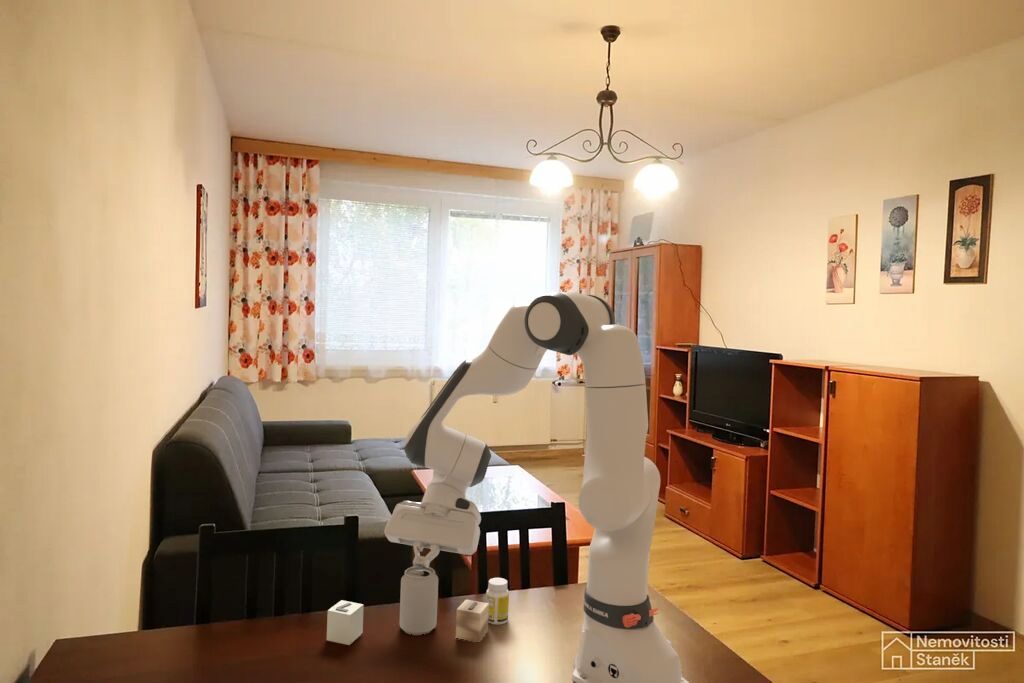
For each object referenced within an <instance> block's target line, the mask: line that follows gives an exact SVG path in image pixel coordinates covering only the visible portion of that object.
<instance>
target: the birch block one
mask: <svg viewBox="0 0 1024 683" xmlns="http://www.w3.org/2000/svg"><path fill="white" fill-rule="evenodd" d="M488 613H489V603H486V602H482V601H477V600H472V599H467V598H466V599H465V600H464V601H463V602H462V603H461V604H460V605H459V606H458V607H457V608H456V620H455V623H456V624H455V639H456V638H459V639H458V640H460V639H464V640H463V641H465V639H466V640H469V641H468V642H470V641H474V642H473V643H475V642H480V641H481V642H482V640H483V639H484V638H485V636H486V635H487V634H488V632H489V623H488ZM486 633H487V634H486ZM485 634H486V635H485ZM483 637H484V638H483ZM481 642H480V643H481Z"/></svg>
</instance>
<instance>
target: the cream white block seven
mask: <svg viewBox="0 0 1024 683" xmlns="http://www.w3.org/2000/svg"><path fill="white" fill-rule="evenodd" d="M364 606H365V605H364V604H362V603H357V602H353V601H347V600H344V599H343V600H342V599H341V600H340V601H338V602H337V603H336V604H333V606H331V607H330V608H329V609H328V610H327V618H326V619H327V620H326V621H327V622H326V641H329V642H333V643H336V644H337V643H338V644H342V645H348V646H350V645H351V644H353V642H355V640H357V639H358V638H359V637H361V636H362V635H363V634H362V633H363V632H364V631H363V630H364V627H363V626H364ZM361 634H362V635H361Z"/></svg>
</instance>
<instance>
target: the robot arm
mask: <svg viewBox="0 0 1024 683" xmlns="http://www.w3.org/2000/svg"><path fill="white" fill-rule="evenodd" d="M615 318H616V317H615V314H614V311H613V309H612V307H611V305H610V304H608V302H606V300H604V299H603V298H601V297H600V296H597V295H592V294H583V293H580V292H577V291H576V292H575V291H562V292H558V291H551V292H547V293H544V294H541V295H540V296H538V297H536V298H534V300H533V301H531V302H518V303H515V304H514V305H513V306H511V308H510V309H509V310H508V311H507V312H506V314H505V315H504V317H503V318H502V320H501V321H500V323H499V324H498V326H496V329H495V331H494V332H493V333H492V336H491V338H490V340H489V343H488V345H487V346H486V347H485V349H484V350H483V352H481V353H480V354H479V355H478V356H476V357H475V358H471V359H465V360H464V361H462V362H461V363H460V364H459V366H457V368H456V369H455V370H454V371H453V373H452V374H451V376H450V377H449V378H448V379H447V380H446V382H445V384H444V385H443V386H442V388H441V389H440V391H439V392H438V393H437V395H436V396H435V398H434V399H433V401H432V402H431V403H430V405H429V406H428V408H427V409H426V410H425V412H424V413H423V414H422V415H421V417H420V419H419V420H417V421H416V422H415V424H413V426H412V427H411V428H410V429H409V431H408V433H407V435H406V437H405V441H404V445H403V450H404V453H405V455H406V457H407V460H409V462H410V463H411V464H412V465H416V466H419V467H422V468H428V469H430V470H433V472H432V479H431V481H430V482H429V483H428V484H427V487H426V489H425V492H424V494H423V497H422V499H421V501H420V502H417V501H410V500H403V501H401V502H399V503H397V504H396V505H395V507H394V509H393V511H392V514H391V516H390V517H389V519H388V521H387V523H386V525H385V527H384V535H385V537H386V538H387V540H388V541H389V542H390V543H396V544H403V545H407V546H412V547H413V551H414V552H413V553H414V558H413V561H412V564H413V567H414V566H416V567H423V568H428V567H430V564H431V562H432V561H433V560H434V559H435V558H436V557H438V555H439V554H440V551H443V552H449V553H454V554H455V553H456V554H460V555H461V554H462V555H466V556H472V555H473V554H474V553H475V552H476V551H477V549H478V545H479V540H480V536H481V530H480V526H479V525H480V524H481V521H482V516H481V513H480V511H479V509H478V506H476V503H475V502H473V501H471V500H469V499H468V498H466V496H467V494H466V493H467V490H468V489H469V488H473V487H475V486H476V485H479V484H481V483H482V482H483V481H484V479H485V477H486V474H487V471H488V468H489V463H490V461H491V458H492V453H491V451H490V447H489V446H488V444H487V443H486V442H485V441H483V440H482V439H478V438H476V437H474V436H472V435H470V434H466V433H463V432H461V431H459V430H456V429H454V428H452V427H449V426H447V425H446V424H444V423H443V421H445V419H446V417H447V416H448V415H449V413H450V412H451V411H452V409H453V408H454V407H455V405H456V403H457V402H458V401H459V400H461V399H462V398H464V397H467V396H474V395H475V396H477V395H480V396H481V395H485V396H494V397H495V396H497V397H500V396H501V397H502V396H510V395H513V394H516V393H518V392H520V391H522V390H524V389H525V388H526V387H527V386H528V385H529V383H530V382H531V380H532V378H533V377H534V375H535V374H536V372H537V370H538V368H539V366H540V363H541V362H542V359H543V358H544V355H545V353H546V352H547V351H553V352H557V353H560V354H563V355H565V356H566V355H567V356H573V355H575V354H576V355H577V356H578V357H579V358H580V360H581V362H582V365H583V370H584V371H583V372H584V388H585V389H584V390H585V406H586V408H585V409H586V423H587V425H586V426H587V428H586V429H587V430H586V433H587V434H586V445H585V451H584V462H583V464H584V465H583V475H582V481H581V482H582V483H581V487H580V490H579V493H578V509H579V511H580V514H581V516H582V518H584V520H585V521H586V522H587V523H588V525H590V526H591V527H592V528H594V530H593V535H592V538H591V541H590V545H589V547H588V559H587V560H588V562H587V583H586V588H584V592H583V593H584V594H583V611H584V618H583V619H584V620H583V623H582V628H581V632H580V639H579V645H578V650H577V653H576V656H575V658H574V659H575V660H574V661H573V662H574V664H573V665H574V669H573V672H572V679H571V680H572V681H573V682H574V683H690V682H689V681H688V680H687V679H685V677H683V675H682V667H681V660H680V657H679V654H678V653H677V651H676V650H675V649H674V646H673V643H672V642H671V641H670V640H668V639H667V638H666V637H665V635H664V633H663V632H662V631H661V629H660V628H659V626H658V625H657V624H656V623H655V621H654V619H655V617H654V616H656V615H658V614H659V612H657V611H658V610H659V607H655V608H652V604H651V599H650V596H649V594H648V587H649V586H648V585H649V584H648V582H649V567H650V555H651V549H652V548H651V546H652V542H653V535H654V530H655V523H656V519H657V518H656V515H657V510H658V501H659V495H660V494H659V493H660V488H661V474H660V471H659V469H658V467H657V465H656V464H655V463H654V462H653V461H652V460H651V459H650V458H648V457H646V456H645V453H646V442H647V435H648V430H649V414H648V400H647V387H646V386H647V385H646V372H645V365H644V361H643V355H642V354H643V353H642V351H641V346H640V343H639V338H638V336H637V334H636V333H635V332H634V330H632V329H631V328H629V327H627V326H624V325H620V324H616V319H615ZM424 548H426V549H430V551H429V552H428V553H427V554H426V555H425V556H422V555H421V553H422V552H423V549H424ZM420 552H421V553H420Z"/></svg>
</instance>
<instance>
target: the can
mask: <svg viewBox="0 0 1024 683" xmlns="http://www.w3.org/2000/svg"><path fill="white" fill-rule="evenodd" d="M438 586H439V577H438V575H437V574H436V571H435V569H434V568H432V567H430V566H429V567H428V568H423V567H416V566H414V565H413V566H410V567H408V568H407V569H404V575H402V577H401V579H400V599H399V602H400V603H399V604H400V605H399V627H400V628H401V630H402V631H404V632H405V633H406V634H408V635H411V634H412V636H421V635H422V634H424V635H427V634H429V633H431V631H433V629H435V628H436V627H437V624H438V623H437V622H438V621H437V619H438V594H439V593H438V590H439V587H438ZM426 633H427V634H426ZM422 636H423V635H422Z"/></svg>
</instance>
